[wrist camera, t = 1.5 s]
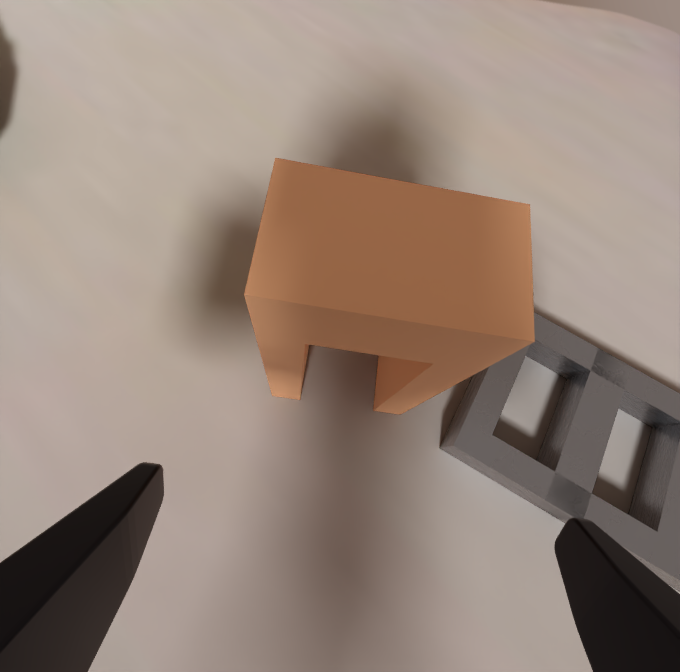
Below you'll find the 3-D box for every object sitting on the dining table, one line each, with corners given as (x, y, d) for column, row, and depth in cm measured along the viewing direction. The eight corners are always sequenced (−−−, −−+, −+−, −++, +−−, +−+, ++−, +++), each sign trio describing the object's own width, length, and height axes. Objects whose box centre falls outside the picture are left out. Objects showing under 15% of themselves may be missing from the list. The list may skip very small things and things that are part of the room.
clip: (405, 345, 23) (529, 204, 11) (399, 414, 22) (534, 341, 10) (285, 326, 23) (275, 157, 11) (272, 395, 21) (243, 294, 9)
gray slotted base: (810, 490, 23) (856, 492, 21) (790, 657, 20) (841, 676, 18) (500, 316, 25) (518, 303, 23) (439, 447, 22) (453, 445, 20)
